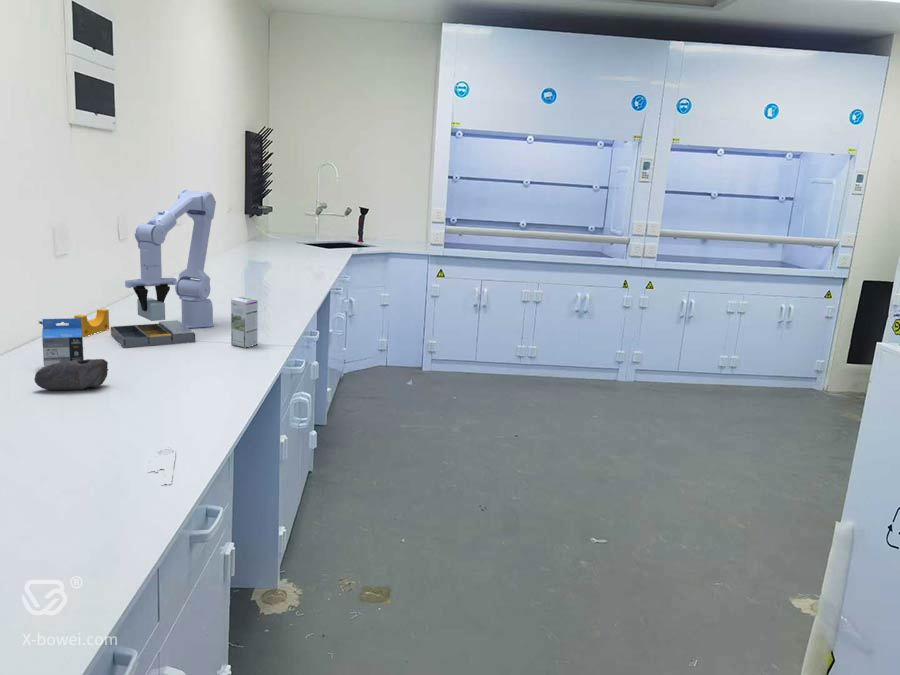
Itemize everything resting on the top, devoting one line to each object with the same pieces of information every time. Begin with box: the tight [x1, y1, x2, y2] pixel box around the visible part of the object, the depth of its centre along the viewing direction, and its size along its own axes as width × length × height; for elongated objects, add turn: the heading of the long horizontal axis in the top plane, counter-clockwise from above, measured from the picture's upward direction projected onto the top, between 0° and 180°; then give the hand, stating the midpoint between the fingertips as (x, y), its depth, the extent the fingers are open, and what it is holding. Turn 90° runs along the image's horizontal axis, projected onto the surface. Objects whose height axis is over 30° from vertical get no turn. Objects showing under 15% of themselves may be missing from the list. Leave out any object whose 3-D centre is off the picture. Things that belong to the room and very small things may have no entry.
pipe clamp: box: [73, 308, 110, 338], centre depth 206 cm, size 12×4×6 cm, turn 171°
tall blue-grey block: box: [136, 297, 166, 322], centre depth 204 cm, size 4×10×5 cm, turn 47°
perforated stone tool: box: [34, 358, 109, 391], centre depth 156 cm, size 15×5×7 cm, turn 114°
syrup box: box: [230, 296, 259, 349], centre depth 204 cm, size 6×6×14 cm
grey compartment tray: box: [110, 319, 196, 349], centre depth 205 cm, size 20×16×3 cm
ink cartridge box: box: [41, 317, 85, 368], centre depth 171 cm, size 9×4×12 cm, turn 118°
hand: (152, 309), depth 203 cm, fingers closed on tall blue-grey block, 4 cm apart
